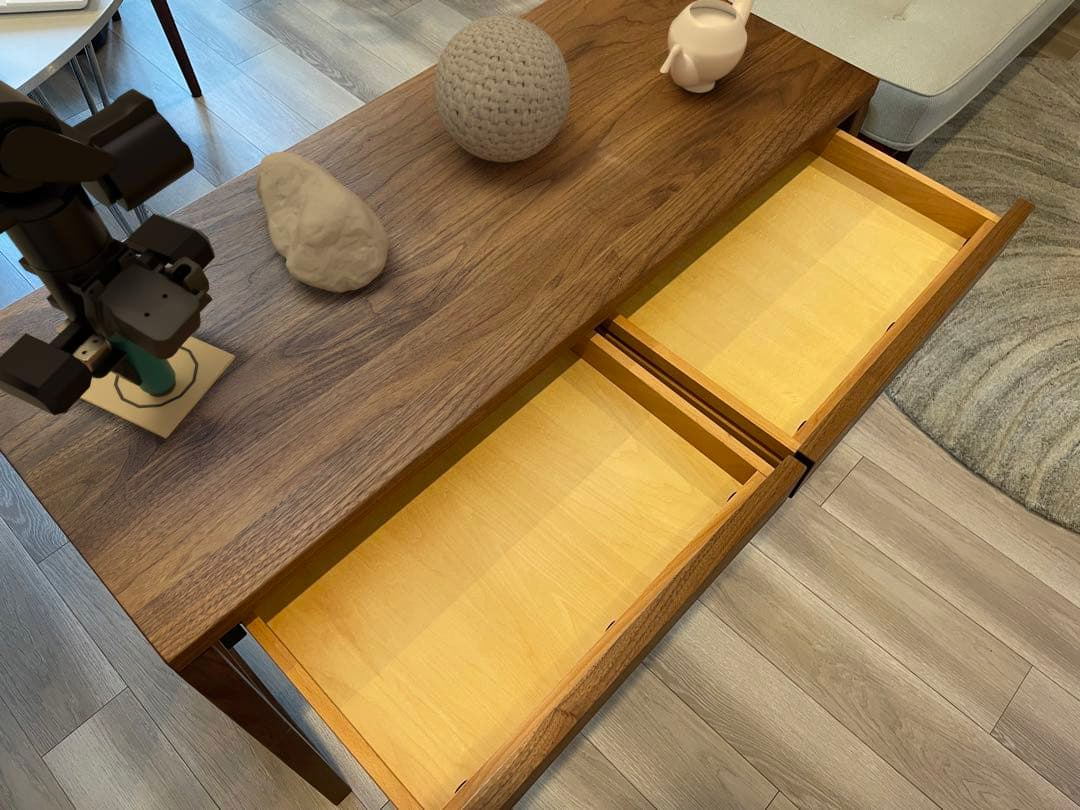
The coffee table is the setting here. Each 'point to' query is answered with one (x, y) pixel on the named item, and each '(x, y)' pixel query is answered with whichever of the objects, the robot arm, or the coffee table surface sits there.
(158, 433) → the sketch card
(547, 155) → the coffee table surface
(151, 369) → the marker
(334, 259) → the decorative stone
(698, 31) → the teapot
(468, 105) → the decorative ball
